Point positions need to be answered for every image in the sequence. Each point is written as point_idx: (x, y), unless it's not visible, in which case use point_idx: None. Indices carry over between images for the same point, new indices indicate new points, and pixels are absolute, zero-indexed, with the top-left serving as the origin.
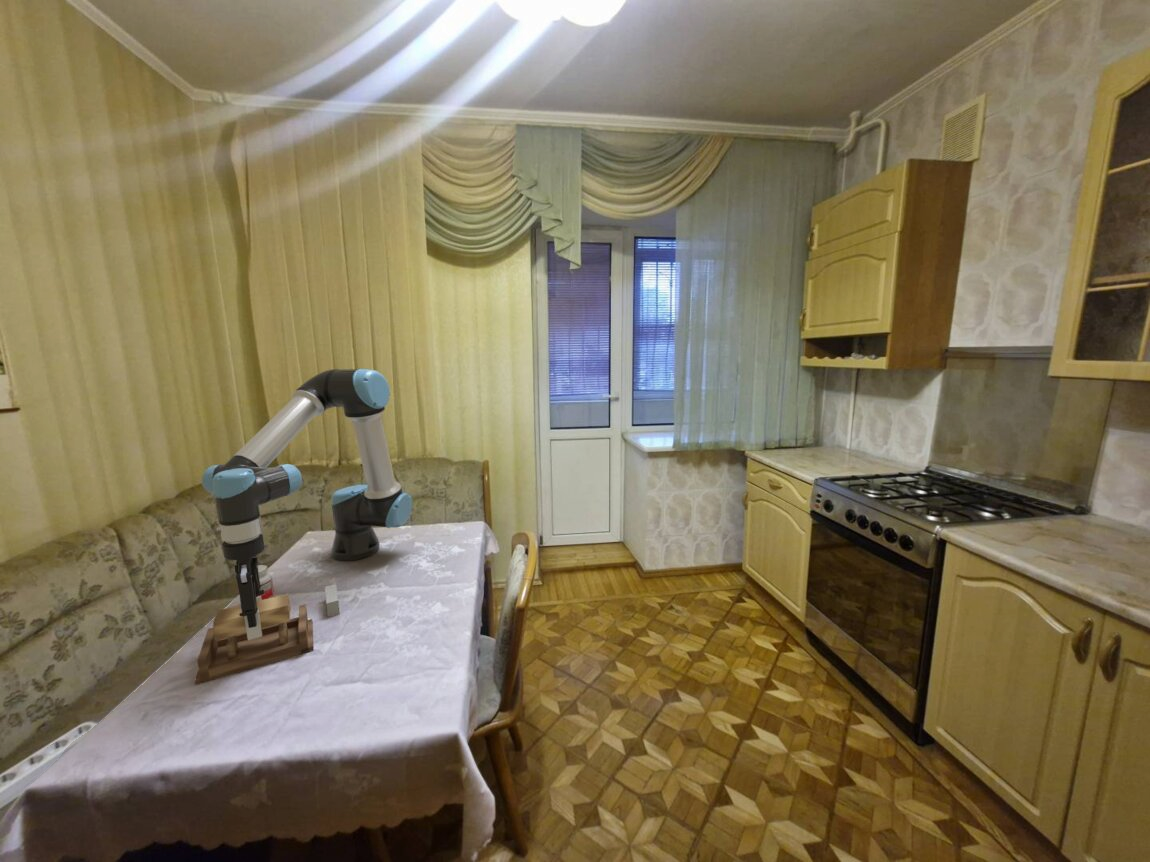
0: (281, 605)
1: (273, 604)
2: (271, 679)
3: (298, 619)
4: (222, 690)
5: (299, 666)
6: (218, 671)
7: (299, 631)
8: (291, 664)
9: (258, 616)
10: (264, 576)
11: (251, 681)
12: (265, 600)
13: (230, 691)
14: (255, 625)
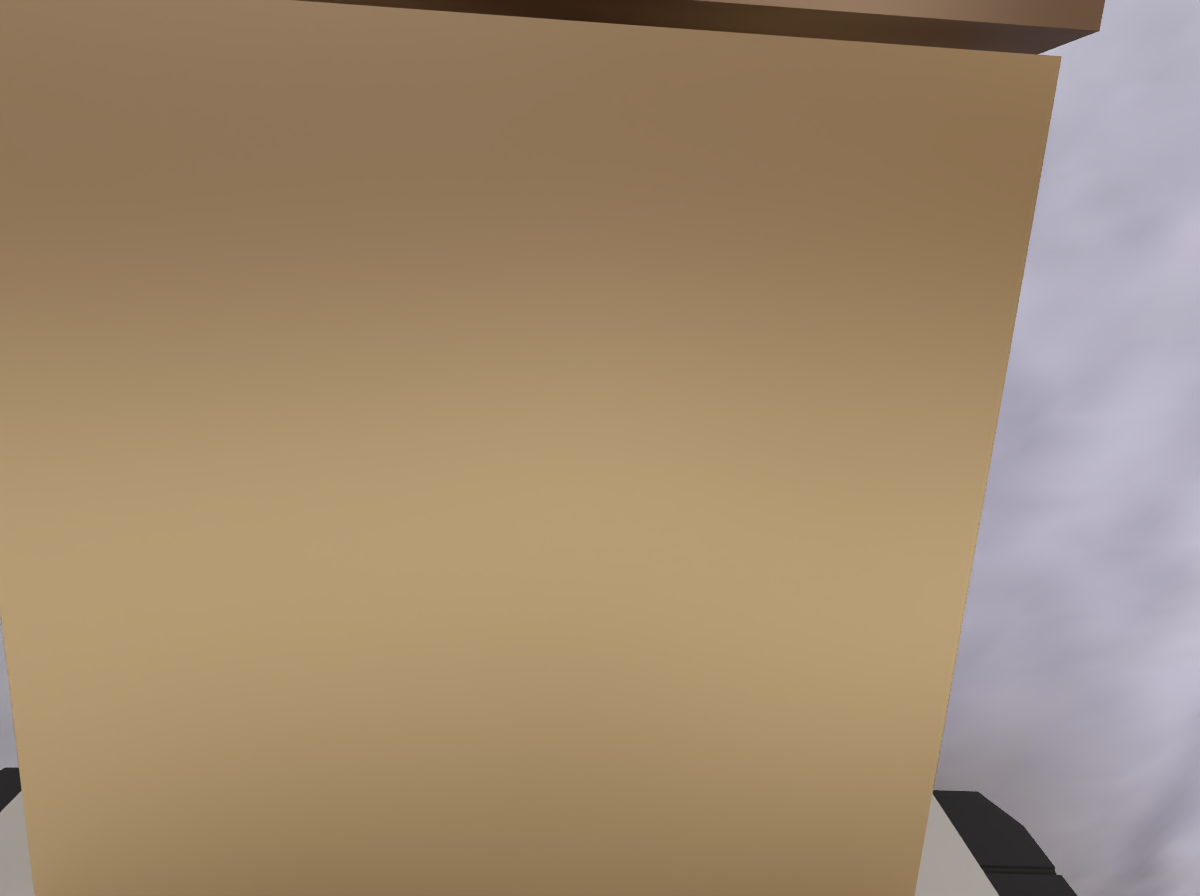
0: (905, 286)
1: (619, 544)
2: (1181, 419)
3: None
4: (1029, 796)
5: (1160, 138)
6: None
7: (1067, 7)
8: (1054, 221)
9: (972, 872)
10: None
11: (1071, 588)
12: (135, 782)
13: (1096, 738)
14: (1005, 824)
